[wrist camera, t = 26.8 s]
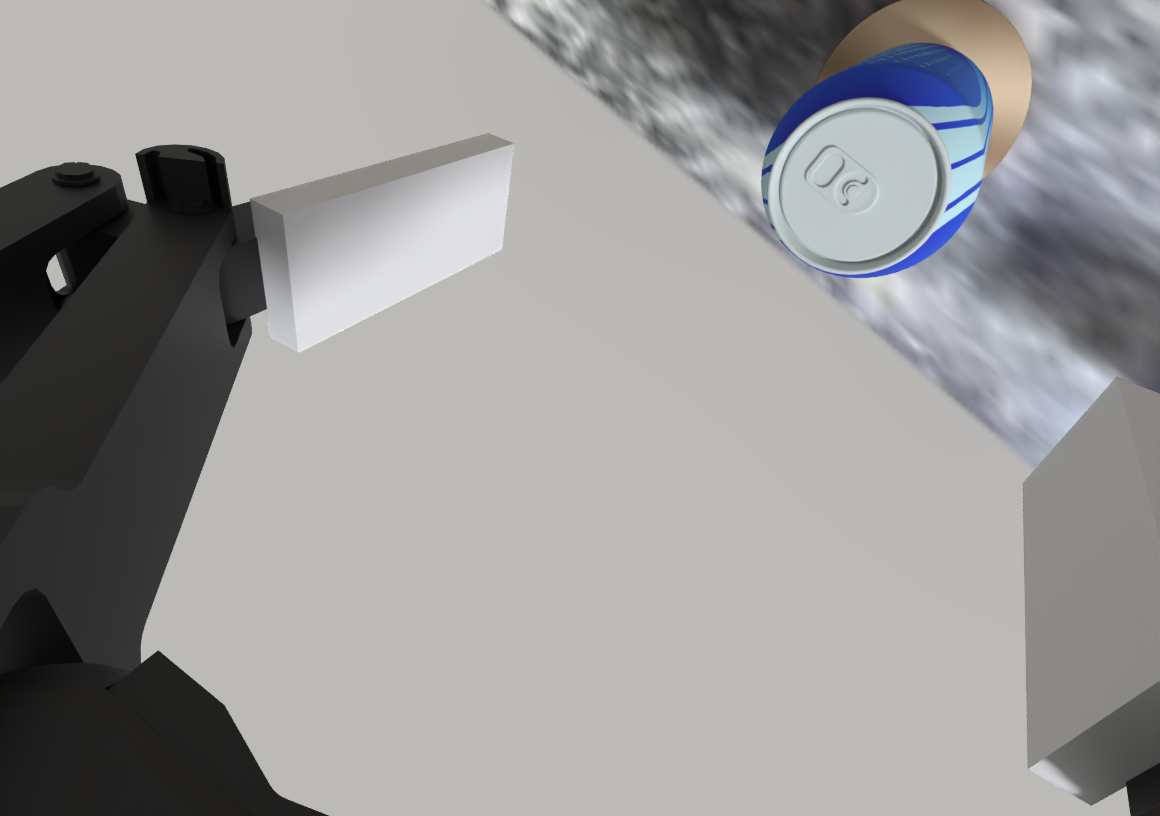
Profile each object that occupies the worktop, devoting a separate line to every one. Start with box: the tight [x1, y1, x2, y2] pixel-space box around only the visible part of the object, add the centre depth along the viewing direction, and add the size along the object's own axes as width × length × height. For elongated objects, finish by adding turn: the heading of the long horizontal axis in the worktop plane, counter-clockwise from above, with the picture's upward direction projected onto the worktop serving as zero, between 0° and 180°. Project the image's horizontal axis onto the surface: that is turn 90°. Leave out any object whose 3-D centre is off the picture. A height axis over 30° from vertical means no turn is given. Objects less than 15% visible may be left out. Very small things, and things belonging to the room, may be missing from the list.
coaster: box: [815, 0, 1032, 179], centre depth 36 cm, size 11×11×1 cm
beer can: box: [761, 43, 993, 278], centre depth 30 cm, size 8×8×16 cm
